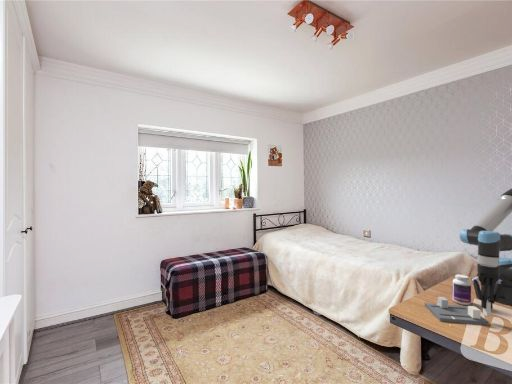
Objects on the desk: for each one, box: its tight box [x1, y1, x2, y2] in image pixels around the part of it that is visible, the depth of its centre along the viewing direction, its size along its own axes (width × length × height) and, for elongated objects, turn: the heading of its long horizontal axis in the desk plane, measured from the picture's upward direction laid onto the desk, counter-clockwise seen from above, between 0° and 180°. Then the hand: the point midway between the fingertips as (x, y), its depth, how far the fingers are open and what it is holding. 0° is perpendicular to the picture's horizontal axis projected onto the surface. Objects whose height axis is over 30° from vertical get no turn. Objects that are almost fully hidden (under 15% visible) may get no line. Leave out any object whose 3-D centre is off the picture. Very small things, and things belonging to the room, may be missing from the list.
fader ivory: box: [467, 305, 482, 319], centre depth 124 cm, size 3×4×4 cm
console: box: [423, 302, 490, 326], centre depth 130 cm, size 20×16×2 cm
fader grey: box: [437, 296, 449, 308], centre depth 135 cm, size 3×4×4 cm
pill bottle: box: [451, 273, 472, 306], centre depth 144 cm, size 8×8×14 cm
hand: (486, 315), depth 123 cm, fingers closed
